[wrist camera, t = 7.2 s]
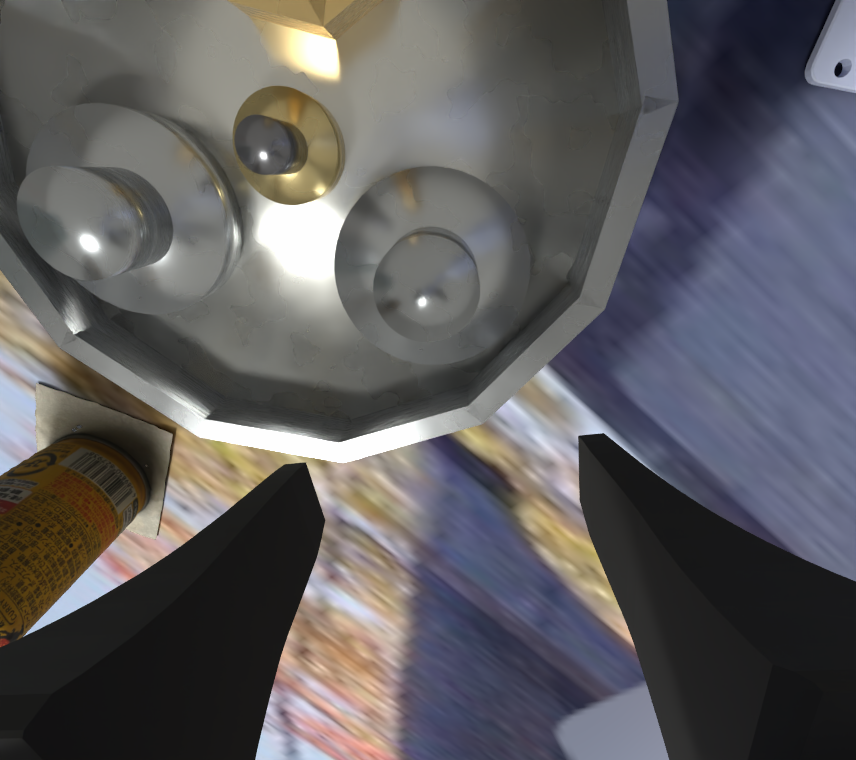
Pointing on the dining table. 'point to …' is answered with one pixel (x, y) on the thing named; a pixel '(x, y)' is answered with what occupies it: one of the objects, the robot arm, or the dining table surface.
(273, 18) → the brass octagonal knob
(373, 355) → the tray
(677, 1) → the dining table surface
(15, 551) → the condiment
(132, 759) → the robot arm
